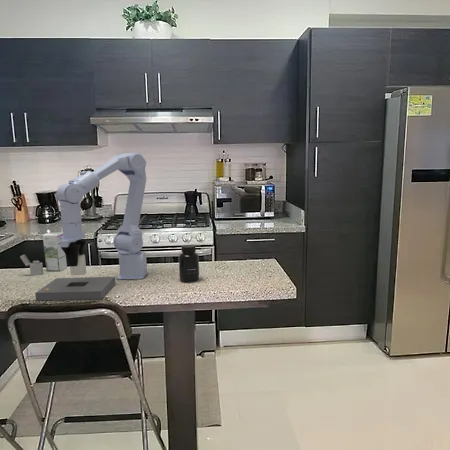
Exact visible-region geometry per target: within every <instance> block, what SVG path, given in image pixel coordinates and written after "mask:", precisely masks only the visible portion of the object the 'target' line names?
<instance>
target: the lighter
mask: <svg viewBox="0 0 450 450" xmlns="http://www.w3.org/2000/svg"><path fill="white" fill-rule="evenodd" d="M19 258H20V259H21V261H22V262H23V264H24V265H25V267H28V266H29V273H30V276H31V277H32V276H33V277H34V276H43V275H44V267H43V266H44V265H43V262H40V261H39V260H33V261H32V262H30V260H29V259H28V257H27V255H26V254H22V255H20V257H19Z"/></svg>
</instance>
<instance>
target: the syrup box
mask: <svg viewBox="0 0 450 450" xmlns="http://www.w3.org/2000/svg"><path fill="white" fill-rule="evenodd" d="M61 236H63V231H62V232H58V231H57V232H52V231H51V232H46V233H44V234H42V240H43V252H44V259H45V269H46V271H47V272H61V271H63V270H65V269H67V267H68V264H67V257H66V254H65V253H64V251H63V250H62V249H61V243H60V241H62V239H60V237H61Z"/></svg>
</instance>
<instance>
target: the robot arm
mask: <svg viewBox="0 0 450 450" xmlns="http://www.w3.org/2000/svg"><path fill="white" fill-rule="evenodd" d="M146 165H147V160H146V159H145V158H144V156H143V155H142V154H141V153H140V152H136V151H135V152H126V153H124V152H120V153H118V154H116V155H114V156H112V157H111V158H110V159H108V161H106V162H104V163H103V164H102V165H100V166H99V167H98V168H96V169H95V170H93V171H90V170H87V171H86V170H83V171H81V172H80V175H78V176H77V177H75V178H74V179H69V180H68V183H67V184H66V183H62V184H61V185H60V186H58V189H56V193H55V194H54V195H55V197H56V200H58V202H59V207H60V217H61V224H62V226H61V227H62V228H61V229H62V232H63V236H61V237H60V239H62V241H60V243H61V249H62V250H63V251H64V253H65V255H66V260H67V262H68V264H69V267H70V266H77V264H78V252H79V255H84V254H83V252H84V249H85V246H86V243H87V240H85V238H86V235H85V231H83V225H82V224H83V223H82V213H81V201H82V200H83V197H84V196H85V195H86V194H88V193H90V192H91V191H92V190H94V189H95V188H97V187H99V183H100V182H99V181H100V180H102V179H104V178H106V177H107V176H109V175H111V174H112V173H114V172H116V171H117V170H118V171H119V172H121V173H122V175H124V176H126V178H127V179H128V180H129V186H128V193H127V197H126V198H127V199H126V205H125V209H124V210H125V211H124V217H123V221H122V225H120V226H119V227H118V228H117V232H116V234H115V236H114V238H113V246H114V248H115V249H116V250H117V253H118V262H119V263H118V266H119V275H118V276H117V277H116V280H139V279H140V280H141V279H142V280H143V279H144V278H145V277H146V275H147V274H148V267H147V266H148V265H147V253H146V252H144V251H141V250H142V248H143V245H144V241H143V231H142V230H141V228H140V227H139V224H140V219H141V214H142V209H143V208H142V207H143V200H144V195H145V189H146V184H147V173H146V167H147V166H146Z"/></svg>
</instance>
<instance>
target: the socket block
mask: <svg viewBox="0 0 450 450" xmlns="http://www.w3.org/2000/svg"><path fill="white" fill-rule="evenodd" d="M116 283H117V282H116V276H94V277H93V276H90V277H89V276H88V277H86V276H85V277H56V278H55V279H53V280H51V281H50V282H49V283H47V284H46V285H45V286H42V287H41V288H40V289H39V290H37V291H36V292H35V301H36V302H37V301H38V302H39V301H40V302H41V301H74V300H77V301H79V300H103V298H104V297H105V296H106V295H107V294H108V293H109V292H110V291H111V290H112V289H113V287H114V286H115V285H116Z"/></svg>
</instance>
